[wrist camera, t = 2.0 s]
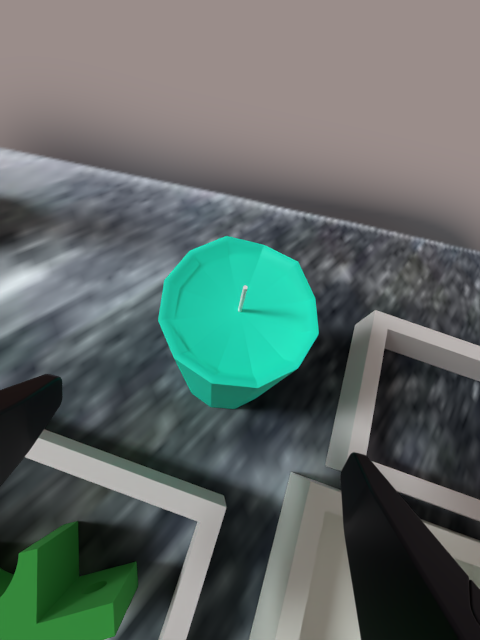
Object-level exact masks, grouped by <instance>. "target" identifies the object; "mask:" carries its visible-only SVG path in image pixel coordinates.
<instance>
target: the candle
mask: <svg viewBox="0 0 480 640" xmlns="http://www.w3.org/2000/svg"><path fill="white" fill-rule="evenodd" d="M158 321H159V323H160V326H161V328H162V331H163V333H164V335H165V338H166V340H167V342H168V345H169V347H170V350H171V352H172V354H173V357H174V359H175V361H176V363H177V365H178V367H179V369H180V371H181V373H182V375H183V377H184V379H185V381H186V383H187V385H188V387H189V389H190V391H191V393H192V394H193V395H195V396H196V397H198V398H199V399H200V400H202V401H203V402H204V403H206V404H207V405H209V406H210V407H215V408H228V409H236V408H238V407H240V406H242V405H244V404H246V403H248V402H250V401H252V400H254V399H256V398H257V397H259V396H260V395H261V394H263V393H264V392H266V391H267V390H268V389H270V388H271V387H273V386H274V385H275V384H277V383H278V382H280V381H281V380H282V379H284V378H285V377H287V376H288V375H289V374H291V373H292V372H294V371H295V370H297V369H298V368H299V366H300V364H301V363H302V361H303V359H304V358H305V356H306V354H307V353H308V351H309V349H310V348H311V346H312V344H313V343H314V341H315V339H316V338H317V336H318V334H319V330H318V320H317V310H316V301H315V297H314V295H313V293H312V290H311V288H310V286H309V284H308V282H307V280H306V278H305V275H304V273H303V271H302V269H301V267H300V265H299V263H298V262H297V261H295V260H293V259H291V258H289V257H287V256H285V255H283V254H281V253H279V252H277V251H275V250H273V249H271V248H269V247H267V246H265V245H262V244H258V243H254V242H250V241H246V240H241V239H237V238H233V237H229V236H225V237H223V238H220V239H218V240H215V241H213V242H210V243H208V244H205V245H203V246H200V247H198V248H195V249H193V250H190V251H189V252H188V253H187V255H186V256H185V257H184V258H183V259H182V260H181V261H180V263H179V264H178V265H177V266H176V267H175V268H174V269H173V271H172V272H171V273H170V274H169V275H168V276H167V277H166V279H165V280H164V286H163V292H162V299H161V305H160V312H159V318H158Z"/></svg>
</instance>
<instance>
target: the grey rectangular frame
mask: <svg viewBox="0 0 480 640" xmlns="http://www.w3.org/2000/svg"><path fill="white" fill-rule="evenodd" d="M384 348H385V349H388V350H391V351H394V352H396V353H399V354H402V355H405V356H408V357H411V358H414V359H417V360H419V361H422V362H425V363H428V364H431V365H434V366H437V367H439V368H442V369H445V370H448V371H451V372H454V373H457V374H460V375H462V376H465V377H468V378H471V379H474V380H477V381H480V346H478V345H475V344H472V343H469V342H466V341H463V340H460V339H457V338H455V337H452V336H449V335H446V334H443V333H440V332H437V331H434V330H431V329H428V328H426V327H423V326H420V325H417V324H414V323H411V322H408V321H405V320H402V319H399V318H397V317H394V316H391V315H388V314H385V313H382V312H379V311H376V310H375V311H374V312H372V313H371V314H369V315H368V316H367V317H365V318H364V319H363V320H361V321H360V322H359V323H357V324H356V325H355V328H354V332H353V337H352V342H351V346H350V351H349V356H348V360H347V365H346V370H345V375H344V379H343V384H342V389H341V393H340V398H339V403H338V407H337V412H336V417H335V422H334V426H333V431H332V436H331V440H330V445H329V450H328V454H327V459H326V464H325V466H327V467H330V468H332V469H335V470H338V471H342V468H343V467H344V465H345V463H346V461H347V459H348V457H349V456H350V454H351V453H352V452H356V453H360V454H364V455H366V454H367V448H368V442H369V436H370V430H371V424H372V418H373V413H374V407H375V401H376V395H377V389H378V383H379V377H380V371H381V365H382V360H383V354H384ZM372 462H373V461H372ZM373 464H374V465H375V466H376V467H377V468H378V469H379V471H380V472H381V473H382V474H383V475H384V477H385V478H386V479H387V480H388V481H389V483H390V484H391V485H392V486H393V487H394V488H395V490H396V491H397V492H399V493H401V494H404V495H407V496H410V497H412V498H415V499H418V500H421V501H423V502H426V503H429V504H432V505H434V506H437V507H440V508H443V509H446V510H448V511H451V512H454V513H457V514H459V515H462V516H465V517H468V518H470V519H473V520H476V521H479V522H480V500H478V499H476V498H473V497H470V496H467V495H465V494H462V493H459V492H456V491H453V490H451V489H448V488H445V487H442V486H440V485H437V484H434V483H431V482H428V481H426V480H423V479H420V478H417V477H415V476H412V475H409V474H406V473H403V472H401V471H398V470H395V469H392V468H390V467H387V466H384V465H381V464H378V463H376V462H373Z"/></svg>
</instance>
